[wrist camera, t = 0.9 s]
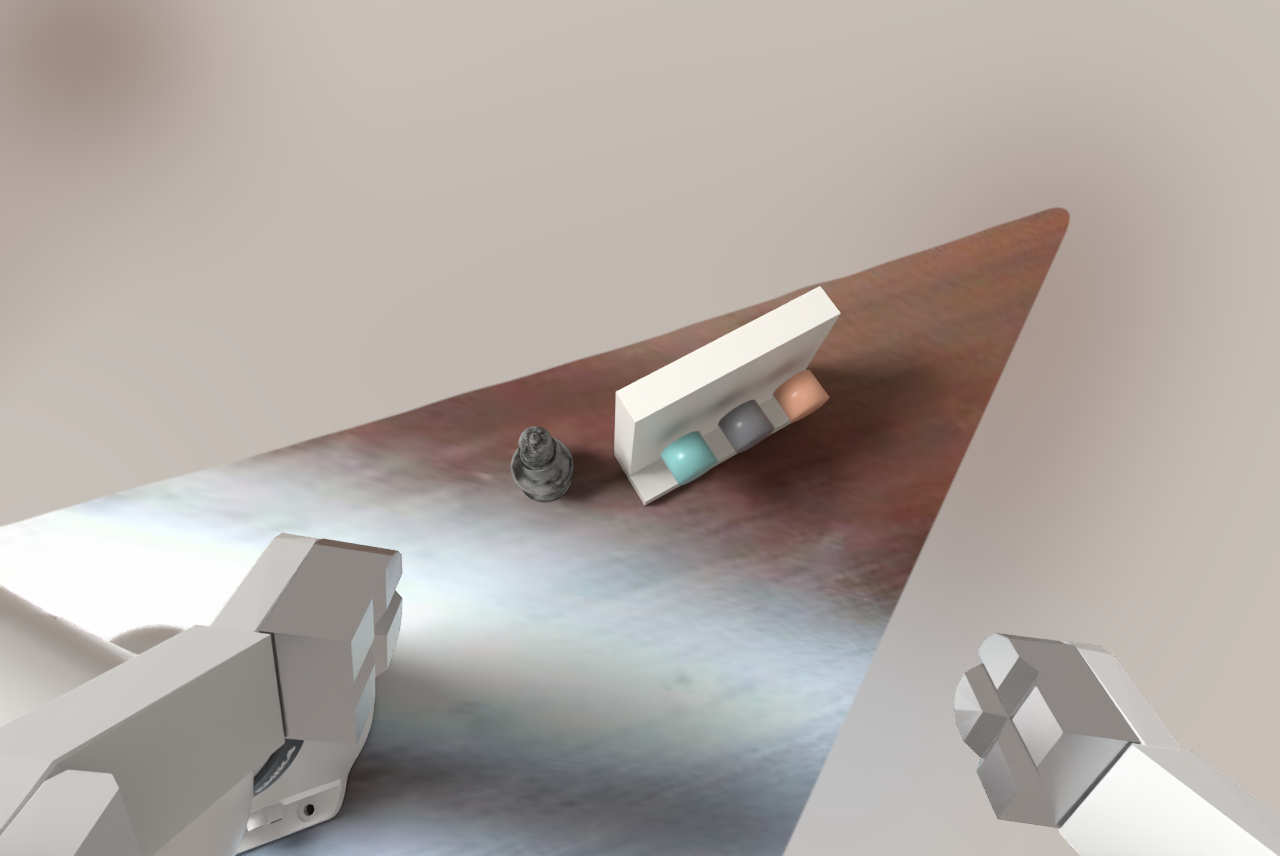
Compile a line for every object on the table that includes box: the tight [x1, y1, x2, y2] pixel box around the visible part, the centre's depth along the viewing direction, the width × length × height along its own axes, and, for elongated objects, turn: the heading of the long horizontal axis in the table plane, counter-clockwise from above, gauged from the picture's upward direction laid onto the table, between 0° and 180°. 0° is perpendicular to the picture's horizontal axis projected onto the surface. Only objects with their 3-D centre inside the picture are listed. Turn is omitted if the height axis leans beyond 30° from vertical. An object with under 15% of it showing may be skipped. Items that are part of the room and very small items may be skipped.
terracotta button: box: [773, 370, 829, 422], centre depth 63 cm, size 4×3×4 cm
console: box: [614, 286, 840, 506], centre depth 64 cm, size 20×6×16 cm, turn 120°
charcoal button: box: [718, 400, 775, 453], centre depth 62 cm, size 4×3×4 cm
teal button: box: [661, 431, 718, 485], centre depth 61 cm, size 4×3×4 cm
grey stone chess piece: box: [511, 426, 573, 502], centre depth 64 cm, size 6×6×12 cm
